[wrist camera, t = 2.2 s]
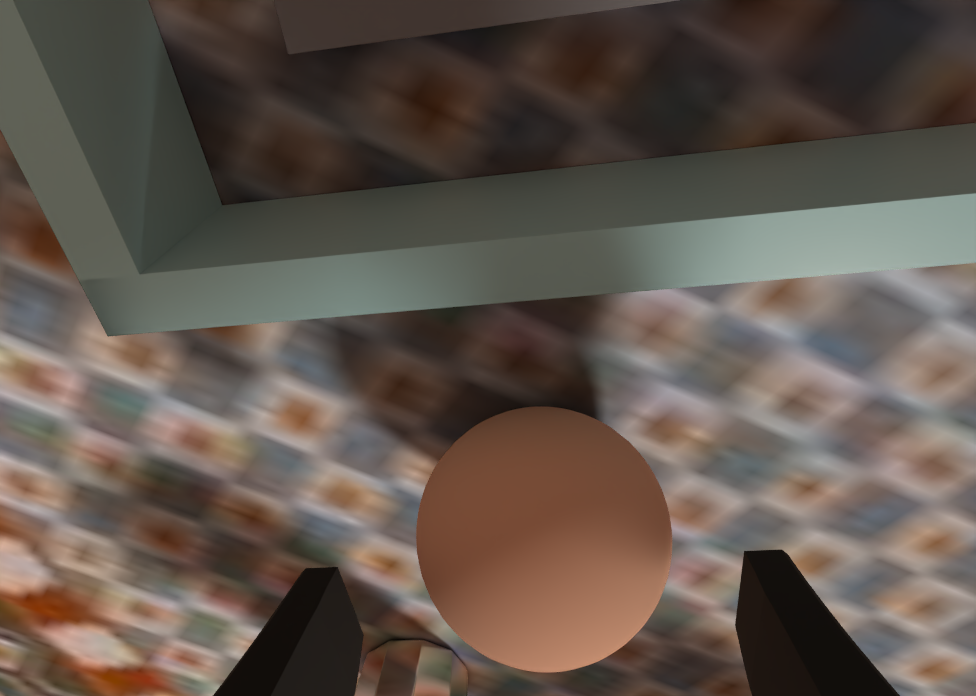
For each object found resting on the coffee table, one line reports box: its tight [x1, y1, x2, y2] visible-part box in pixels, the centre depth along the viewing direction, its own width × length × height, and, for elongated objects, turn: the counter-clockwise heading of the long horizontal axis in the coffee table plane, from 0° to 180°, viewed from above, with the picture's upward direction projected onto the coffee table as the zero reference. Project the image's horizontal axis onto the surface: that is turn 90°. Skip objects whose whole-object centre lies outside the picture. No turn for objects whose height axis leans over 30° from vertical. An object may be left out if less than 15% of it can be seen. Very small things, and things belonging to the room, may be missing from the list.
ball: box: [416, 407, 672, 672], centre depth 13 cm, size 5×5×5 cm
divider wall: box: [0, 0, 976, 336], centre depth 9 cm, size 17×5×3 cm, turn 97°
